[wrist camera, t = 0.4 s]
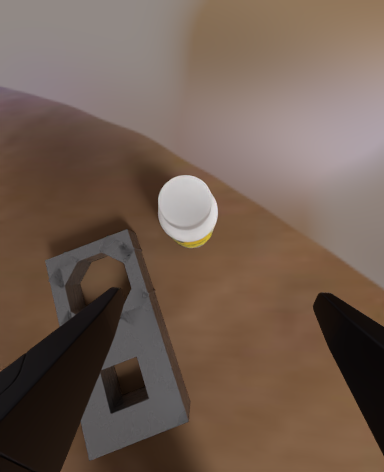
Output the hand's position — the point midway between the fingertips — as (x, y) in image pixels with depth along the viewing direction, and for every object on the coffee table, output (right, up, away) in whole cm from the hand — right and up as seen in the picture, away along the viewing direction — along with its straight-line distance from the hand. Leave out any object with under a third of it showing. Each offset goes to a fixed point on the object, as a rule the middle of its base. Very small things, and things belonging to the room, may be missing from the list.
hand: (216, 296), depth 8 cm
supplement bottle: (-1, +4, +15) cm, 15 cm away
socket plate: (-10, -8, +13) cm, 18 cm away
